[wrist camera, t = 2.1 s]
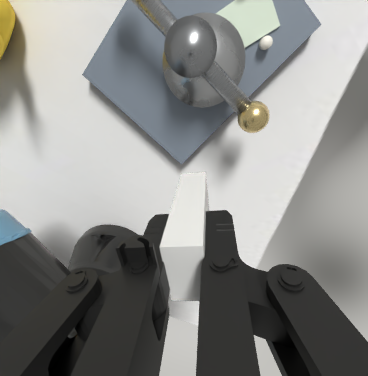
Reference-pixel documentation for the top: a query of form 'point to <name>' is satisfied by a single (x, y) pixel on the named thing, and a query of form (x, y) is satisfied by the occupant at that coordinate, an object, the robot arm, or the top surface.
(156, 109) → the stand
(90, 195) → the top surface
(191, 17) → the grey lever with knob
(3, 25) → the yellow sugar bowl
